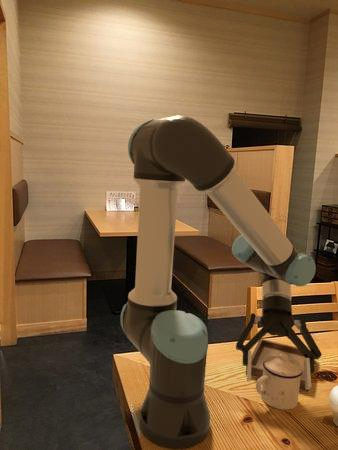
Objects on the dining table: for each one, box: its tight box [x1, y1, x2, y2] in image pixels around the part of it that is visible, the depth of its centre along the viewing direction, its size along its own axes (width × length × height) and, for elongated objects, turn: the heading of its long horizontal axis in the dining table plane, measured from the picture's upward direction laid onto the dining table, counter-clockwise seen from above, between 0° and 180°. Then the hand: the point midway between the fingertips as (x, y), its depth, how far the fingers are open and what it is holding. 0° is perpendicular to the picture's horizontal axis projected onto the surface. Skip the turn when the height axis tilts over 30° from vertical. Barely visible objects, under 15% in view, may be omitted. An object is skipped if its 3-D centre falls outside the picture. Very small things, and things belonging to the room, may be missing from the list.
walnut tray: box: [245, 338, 309, 392], centre depth 107 cm, size 16×18×2 cm
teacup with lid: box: [255, 353, 302, 411], centre depth 90 cm, size 12×9×12 cm
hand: (278, 384), depth 89 cm, fingers open, 13 cm apart
